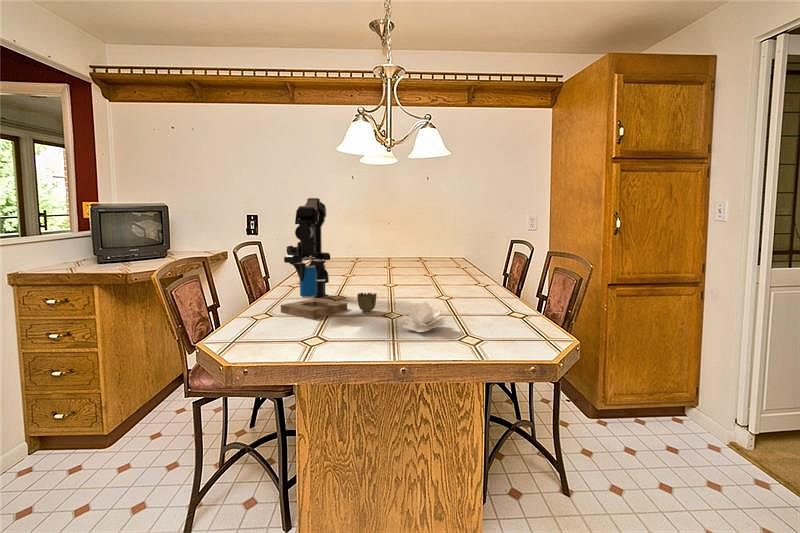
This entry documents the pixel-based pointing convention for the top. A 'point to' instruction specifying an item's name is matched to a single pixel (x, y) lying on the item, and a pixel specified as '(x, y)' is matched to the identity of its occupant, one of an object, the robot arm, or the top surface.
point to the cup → (366, 302)
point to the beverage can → (309, 283)
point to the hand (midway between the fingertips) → (308, 279)
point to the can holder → (313, 308)
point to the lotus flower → (424, 318)
